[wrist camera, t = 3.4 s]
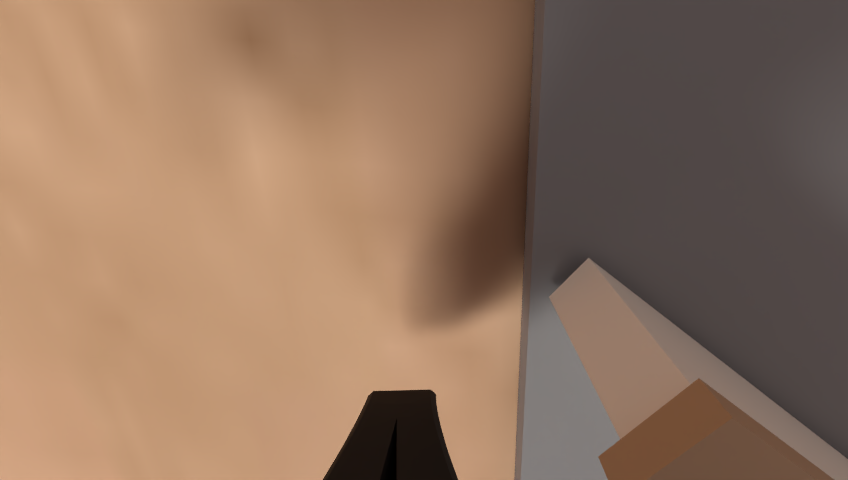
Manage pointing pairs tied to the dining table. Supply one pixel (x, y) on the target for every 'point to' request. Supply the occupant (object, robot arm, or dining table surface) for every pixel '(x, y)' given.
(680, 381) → the gate
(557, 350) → the grey plate with bar
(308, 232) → the dining table surface
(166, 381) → the dining table surface
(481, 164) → the dining table surface
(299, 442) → the dining table surface
